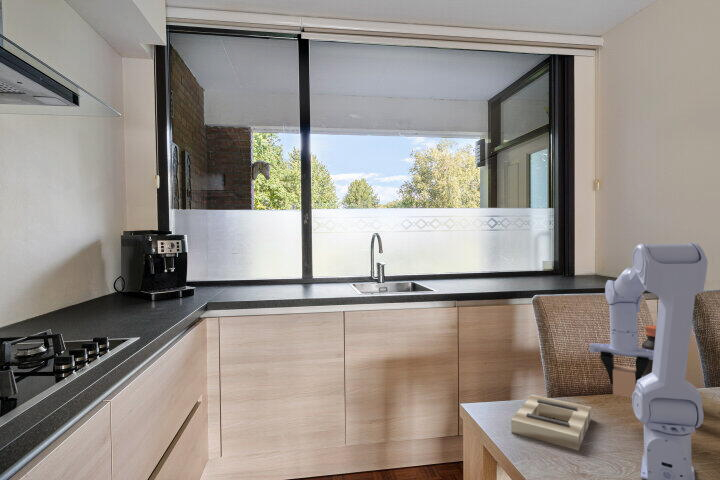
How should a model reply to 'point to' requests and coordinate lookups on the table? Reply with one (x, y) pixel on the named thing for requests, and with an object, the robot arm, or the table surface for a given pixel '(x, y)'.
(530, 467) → the table surface
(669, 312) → the robot arm
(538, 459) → the table surface
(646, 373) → the vinegar
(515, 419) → the slotted wooden holder
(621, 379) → the block
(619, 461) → the table surface
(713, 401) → the table surface
